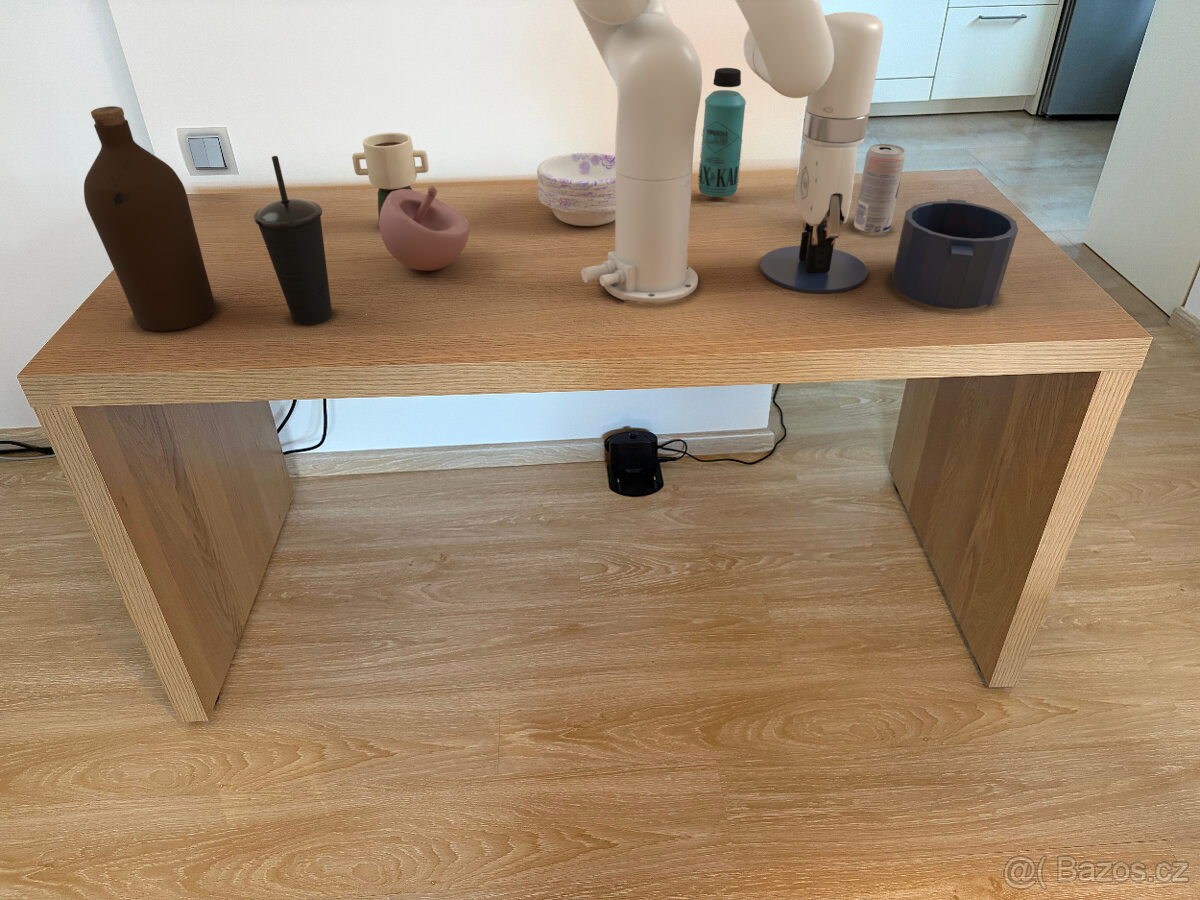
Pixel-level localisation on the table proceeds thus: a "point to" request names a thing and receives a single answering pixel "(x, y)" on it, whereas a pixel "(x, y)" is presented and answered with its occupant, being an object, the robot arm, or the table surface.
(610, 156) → the paper bowls
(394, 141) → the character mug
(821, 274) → the lid
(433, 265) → the mortar and pestle
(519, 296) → the table surface
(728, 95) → the beverage bottle
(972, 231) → the pot
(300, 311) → the drinking cup
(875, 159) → the energy drink
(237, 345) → the table surface
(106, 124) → the olive oil
